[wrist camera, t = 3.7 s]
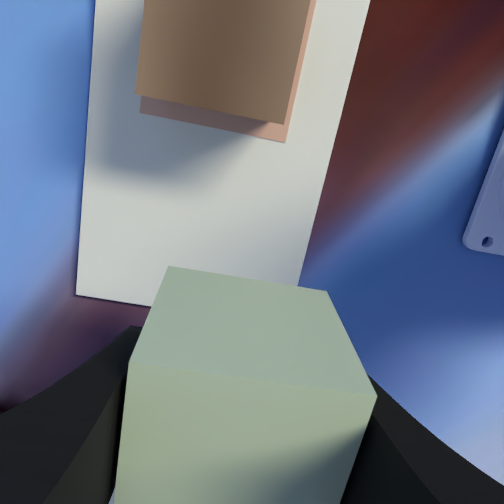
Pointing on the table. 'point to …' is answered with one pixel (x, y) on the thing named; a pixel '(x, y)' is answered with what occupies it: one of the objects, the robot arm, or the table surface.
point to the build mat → (205, 165)
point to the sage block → (240, 396)
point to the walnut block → (222, 54)
